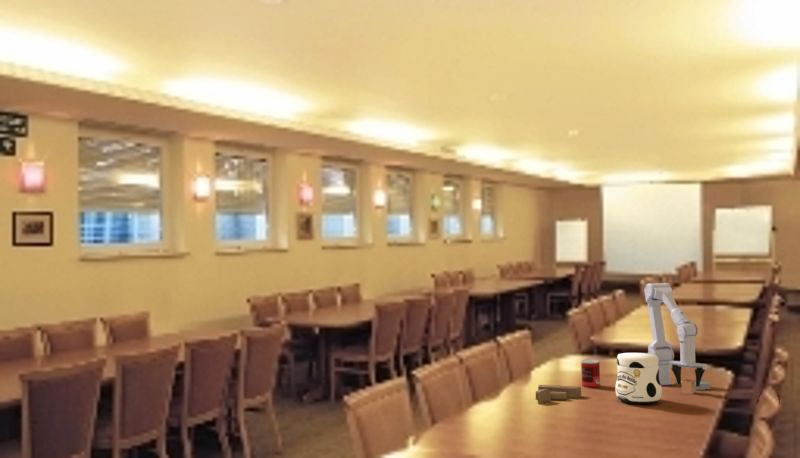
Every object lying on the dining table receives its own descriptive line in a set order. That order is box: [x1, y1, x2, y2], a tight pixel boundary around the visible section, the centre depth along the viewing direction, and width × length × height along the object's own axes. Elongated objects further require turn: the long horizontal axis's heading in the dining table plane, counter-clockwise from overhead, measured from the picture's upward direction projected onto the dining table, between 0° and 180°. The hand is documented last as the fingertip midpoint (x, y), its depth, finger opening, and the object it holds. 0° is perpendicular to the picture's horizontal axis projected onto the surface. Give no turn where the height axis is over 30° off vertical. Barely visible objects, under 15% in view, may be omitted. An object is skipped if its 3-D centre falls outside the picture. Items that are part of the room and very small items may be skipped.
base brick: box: [695, 379, 711, 391], centre depth 299 cm, size 7×7×3 cm
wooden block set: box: [535, 384, 582, 405], centre depth 282 cm, size 17×6×18 cm
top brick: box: [681, 378, 696, 395], centre depth 291 cm, size 4×4×5 cm
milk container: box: [614, 352, 663, 405], centre depth 277 cm, size 17×17×18 cm
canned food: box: [580, 358, 601, 389], centre depth 307 cm, size 8×8×11 cm
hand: (688, 385), depth 291 cm, fingers open, 7 cm apart
